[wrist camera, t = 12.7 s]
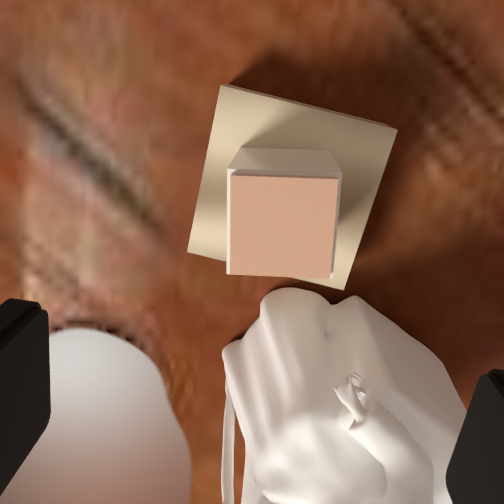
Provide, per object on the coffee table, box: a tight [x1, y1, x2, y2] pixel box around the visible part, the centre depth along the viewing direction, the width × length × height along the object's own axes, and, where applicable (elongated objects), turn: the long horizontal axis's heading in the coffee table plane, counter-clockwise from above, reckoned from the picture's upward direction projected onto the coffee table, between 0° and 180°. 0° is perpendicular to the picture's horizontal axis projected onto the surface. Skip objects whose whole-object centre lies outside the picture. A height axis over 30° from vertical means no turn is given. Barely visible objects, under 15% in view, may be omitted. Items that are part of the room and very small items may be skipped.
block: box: [187, 84, 398, 290], centre depth 30 cm, size 10×10×4 cm
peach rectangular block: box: [227, 147, 342, 279], centre depth 24 cm, size 5×5×7 cm
